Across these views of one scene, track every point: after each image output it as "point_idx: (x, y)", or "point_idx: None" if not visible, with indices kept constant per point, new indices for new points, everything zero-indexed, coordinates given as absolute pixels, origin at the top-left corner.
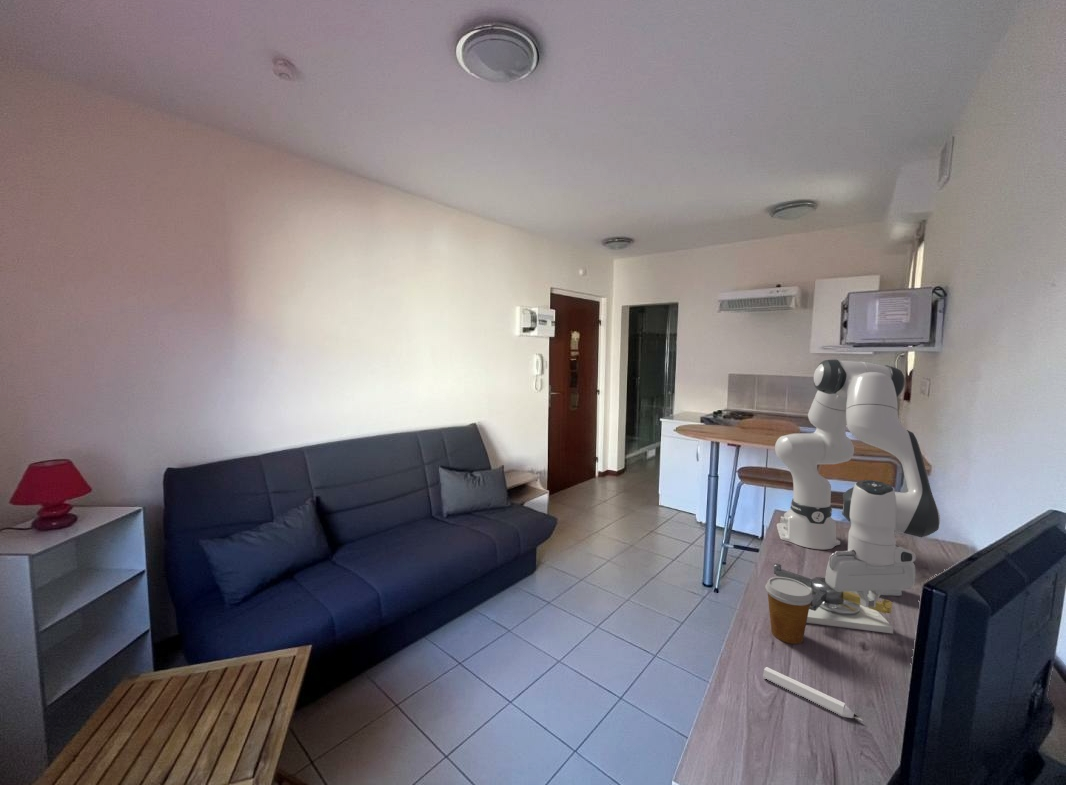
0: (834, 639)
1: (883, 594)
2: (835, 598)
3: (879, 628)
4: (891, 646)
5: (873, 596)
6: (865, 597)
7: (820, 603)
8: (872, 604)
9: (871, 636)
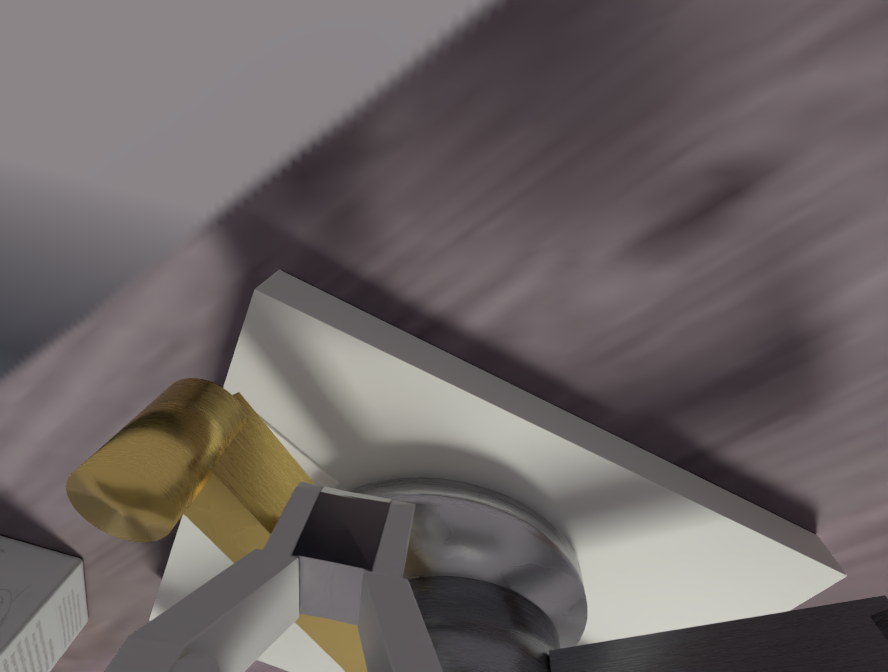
0: (825, 341)
1: (10, 542)
2: (497, 636)
3: (359, 325)
4: (457, 141)
5: (257, 612)
6: (418, 637)
7: (722, 639)
8: (328, 514)
9: (485, 289)
